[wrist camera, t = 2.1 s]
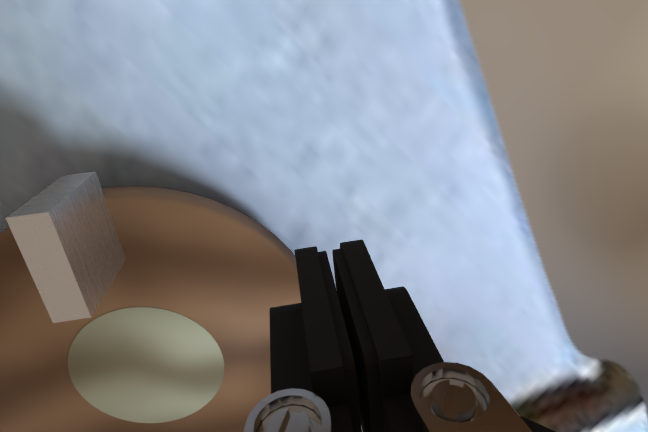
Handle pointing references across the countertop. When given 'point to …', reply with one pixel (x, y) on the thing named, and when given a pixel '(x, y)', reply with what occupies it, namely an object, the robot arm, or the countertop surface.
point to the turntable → (135, 310)
